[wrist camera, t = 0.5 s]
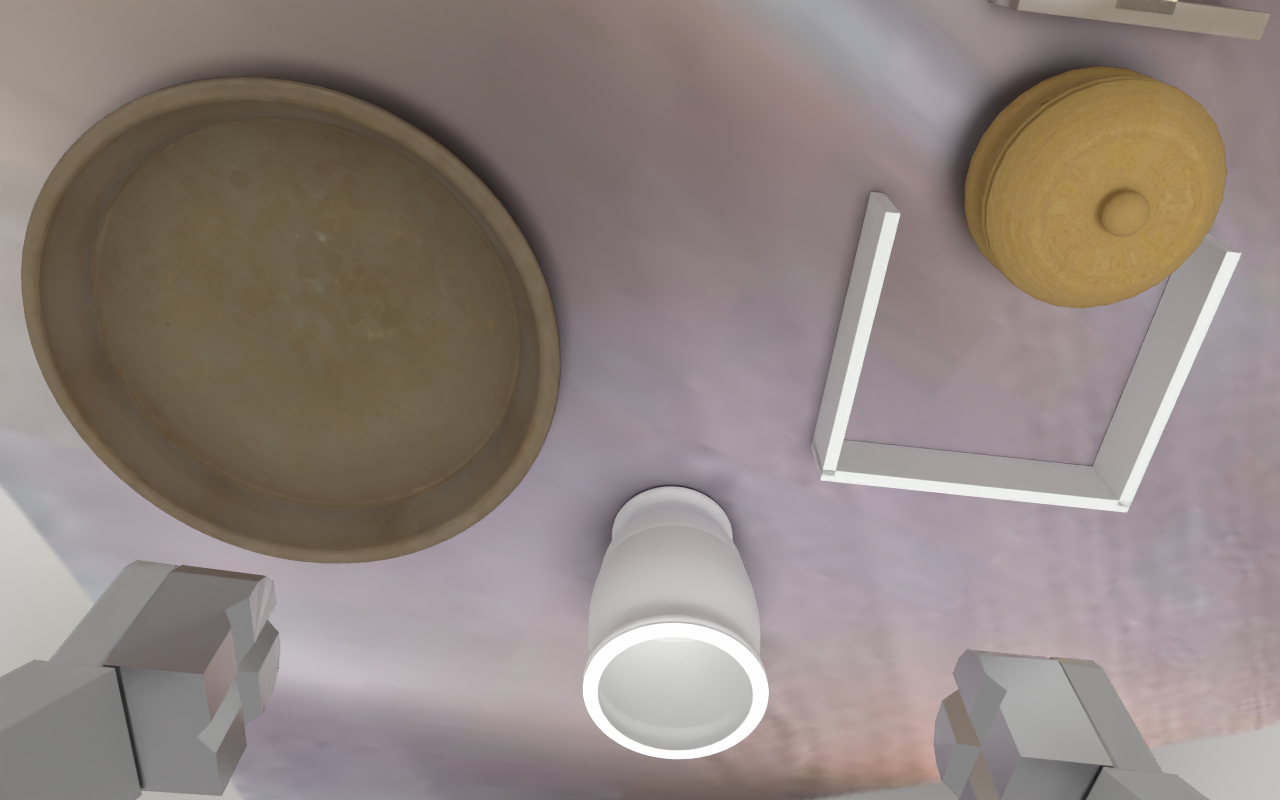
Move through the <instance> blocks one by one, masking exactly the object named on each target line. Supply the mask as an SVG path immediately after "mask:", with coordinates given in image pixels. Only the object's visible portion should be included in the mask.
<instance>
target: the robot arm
mask: <svg viewBox="0 0 1280 800" xmlns="http://www.w3.org/2000/svg"><path fill="white" fill-rule="evenodd" d="M275 604H276V599H275V591H274V584H273V580H271V579H270V578H269V577H267V576H263V575H255V574H247V573H239V572H232V571H224V570H216V569H208V568H201V567H193V566H185V565H181V566H177V565H170V564H162V563H155V562H147V561H140V560H137V561H135V562H133V563H131V564H129V565H127V566H126V567H125V568H123V570H122V571H121V572H120V573H119V575H118V576H117V577H116V578H115V580H114V581H113V582H112V583H111V584H110V586H109V587H108V588H107V589H106V591H105V592H104V593H103V594H102V596H101V597H100V598H99V599H98V601H97V602H96V603H95V604H94V605H93V607H92V608H91V609H90V610H89V612H88V613H87V614H86V615H85V617H84V618H83V619H82V620H81V621H80V623H79V624H78V625H77V627H76V628H75V629H74V630H73V631H72V633H71V634H70V635H69V636H68V638H67V639H66V640H65V641H64V643H63V644H62V645H61V646H60V647H59V649H58V650H57V651H56V652H55V654H54V655H53V656H52V657H51V659H50V660H49V661H41V660H33V661H31V662H29V663H27V664H26V665H23V666H21V667H20V668H17V669H15V670H13V671H11V672H9V673H7V674H5V675H3V676H1V677H0V800H136V799H137V798H139V797H140V796H141V791H156V792H171V793H187V794H201V795H215V796H216V795H217V796H222V794H223V792H224V790H225V788H226V786H227V784H228V782H229V780H230V778H231V776H232V774H233V772H234V770H235V768H236V766H237V764H238V762H239V760H240V758H241V756H242V754H243V752H244V750H245V748H246V746H247V745H246V736H245V727H244V726H245V725H246V724H248V723H249V722H251V721H252V720H254V719H255V718H257V717H258V716H260V715H261V714H262V713H263V711H264V709H265V707H266V705H267V703H268V701H269V698H270V696H271V694H272V691H273V687H274V684H275V680H276V676H277V672H278V669H279V657H280V640H279V632H278V631H277V630H276V629H275V628H274V626H273V625H272V624H271V623H270V622H269V621H268V620H267V619H268V617H269V615H270V614H271V612H272V610H273V608H274V606H275ZM953 675H954V678H955V681H956V683H957V686H958V690H957V691H955V692H954V693H952V694H951V695H950V696H948V697H947V698H945V699H944V700H942V703H941V706H940V709H939V712H938V715H937V718H936V721H935V734H934V749H935V756H936V763H937V766H938V770H939V773H940V776H941V780H942V782H943V783H944V784H945V785H946V786H947V787H948V788H949V789H950V790H952V792H953V793H954V794H955V795H956V796H957V797H958V798H959V800H1209V799H1207V798H1206V797H1205V796H1204V795H1202V794H1201V793H1200V792H1198V791H1197V790H1196V789H1194V788H1193V787H1192V786H1191V785H1189V784H1188V783H1187V782H1185V781H1184V780H1183V779H1181V778H1180V777H1179V776H1178V775H1175V774H1166V773H1163V772H1162V770H1161V768H1160V767H1159V765H1158V763H1157V762H1156V760H1155V758H1154V756H1153V754H1152V753H1151V751H1150V749H1149V747H1148V746H1147V744H1146V742H1145V741H1144V739H1143V737H1142V735H1141V734H1140V732H1139V730H1138V729H1137V727H1136V725H1135V723H1134V722H1133V720H1132V718H1131V717H1130V715H1129V713H1128V711H1127V710H1126V708H1125V706H1124V704H1123V703H1122V701H1121V699H1120V698H1119V696H1118V694H1117V692H1116V691H1115V689H1114V687H1113V686H1112V684H1111V682H1110V680H1109V679H1108V677H1107V675H1106V674H1105V672H1104V670H1103V669H1102V667H1100V666H1099V665H1098V664H1097V663H1095V662H1094V661H1092V660H1081V659H1070V658H1058V657H1050V658H1047V657H1041V656H1030V655H1020V654H1010V653H999V652H989V651H979V650H968V649H967V650H966V651H965V652H964V653H963V654H962V655H961V656H960V657H959V659H958V662H957V664H956V667H955V669H954V672H953Z"/></svg>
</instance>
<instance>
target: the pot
mask: <svg viewBox="0 0 1280 800" xmlns="http://www.w3.org/2000/svg"><path fill="white" fill-rule="evenodd" d="M1226 174H1227V168H1226V157H1225V147H1224V144H1223V141H1222V139H1221V136H1220V133H1219V131H1218V128H1217V125H1216V123H1215V122H1214V121H1213V119H1212V118H1211V117H1210V115H1209V114H1208V113H1207V111H1206V110H1205V109H1204V107H1203V106H1202V105H1201V104H1200V103H1199V102H1197V101H1196V100H1194V99H1193V98H1192V97H1190V96H1189V95H1187V94H1186V93H1185V92H1183V91H1182V90H1179V89H1178V88H1176V87H1174V86H1171V85H1168V84H1166V83H1163V82H1160V81H1157V80H1154V79H1153V78H1152V77H1149V76H1146V75H1143V74H1141V73H1138V72H1135V71H1132V70H1129V69H1126V68H1117V67H1106V66H1095V67H1088V68H1081V69H1074V70H1070V71H1067V72H1064V73H1062V74H1059V75H1056V76H1054V77H1051V78H1048V79H1045V80H1043V81H1042V82H1040V83H1038V84H1037V85H1035V86H1033V87H1032V88H1030V89H1029V90H1027V91H1025V92H1024V93H1022V94H1021V95H1019V96H1018V97H1017V98H1016V99H1015V100H1014V101H1013V102H1011V103H1010V104H1009V105H1008V106H1007V107H1006V108H1005V109H1004V110H1003V111H1001V112H1000V113H999V114H998V116H997V117H996V118H995V120H994V121H993V122H992V124H991V125H990V126H989V128H988V129H987V130H986V131H985V133H984V134H983V135H982V137H981V140H980V142H979V144H978V146H977V148H976V150H975V152H974V154H973V156H972V158H971V161H970V165H969V169H968V174H967V178H966V182H965V205H964V207H965V213H966V218H967V222H968V227H969V231H970V233H971V235H972V237H973V239H974V241H975V243H976V245H977V246H978V248H979V250H980V252H981V253H982V254H983V255H984V256H985V257H986V258H987V259H988V260H989V261H990V262H991V263H992V264H993V265H994V267H995V268H997V269H998V270H1000V271H1001V272H1002V273H1003V275H1004V276H1005V277H1006V278H1007V279H1008V280H1009V281H1010V282H1011V283H1012V284H1014V285H1015V286H1016V287H1017V288H1019V289H1021V290H1022V291H1024V292H1025V293H1027V294H1028V295H1030V296H1032V297H1033V298H1035V299H1037V300H1040V301H1043V302H1046V303H1049V304H1052V305H1055V306H1061V307H1074V308H1087V307H1095V306H1103V305H1109V304H1112V303H1115V302H1118V301H1122V300H1125V299H1128V298H1131V297H1134V296H1136V295H1138V294H1140V293H1142V292H1144V291H1146V290H1148V289H1149V288H1151V287H1153V286H1155V285H1157V284H1159V283H1160V282H1161V281H1163V280H1164V279H1165V278H1167V277H1168V276H1169V275H1170V274H1172V273H1173V272H1174V271H1176V270H1177V269H1178V268H1179V267H1180V266H1181V265H1182V264H1183V263H1184V262H1185V261H1186V260H1187V259H1188V258H1189V257H1190V256H1191V254H1192V253H1193V252H1194V251H1195V250H1196V249H1197V248H1198V247H1199V245H1200V244H1201V242H1202V240H1203V239H1204V237H1205V236H1206V234H1207V233H1208V231H1209V230H1210V228H1211V226H1212V225H1213V223H1214V220H1215V218H1216V215H1217V213H1218V210H1219V207H1220V205H1221V202H1222V200H1223V194H1224V188H1225V181H1226Z"/></svg>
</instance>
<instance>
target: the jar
mask: <svg viewBox="0 0 1280 800" xmlns="http://www.w3.org/2000/svg"><path fill="white" fill-rule="evenodd" d="M588 644H589V654H590V656H589V658H588V660H587V663H586V665H585V669H584V674H583V696H584V701H585V705H586V708H587V710H588V712H589V714H590V716H591V718H592V719H593V721H594V722H595V723H596V725H597V726H598V727H599V728H600V729H601V730H602V731H603V732H604V733H605V734H606V735H607V736H609V737H610V738H611V739H613V740H614V741H616V742H617V743H619V744H621V745H622V746H624V747H626V748H629V749H631V750H633V751H636V752H639V753H642V754H645V755H649V756H653V757H659V758H667V759H690V758H698V757H703V756H708V755H711V754H715V753H718V752H720V751H723V750H725V749H727V748H730V747H731V746H733V745H735V744H737V743H738V742H740V741H741V740H743V739H744V738H745V737H746V736H748V735H749V734H750V733H751V732H752V731H753V730H754V729H755V727H756V726H757V725H758V723H759V722H760V720H761V719H762V717H763V715H764V713H765V710H766V707H767V703H768V695H769V690H768V683H767V676H766V672H765V668H764V665H763V663H762V661H761V659H760V657H759V656H760V621H759V613H758V607H757V602H756V598H755V595H754V591H753V588H752V585H751V582H750V580H749V577H748V575H747V572H746V570H745V568H744V564H743V562H742V559H741V556H740V554H739V552H738V550H737V548H736V546H735V544H734V543H733V534H732V528H731V524H730V522H729V519H728V517H727V516H726V514H725V512H724V511H723V510H722V508H721V507H720V506H719V505H718V504H717V503H716V502H714V501H713V500H712V499H710V498H709V497H707V496H706V495H704V494H702V493H700V492H697V491H695V490H692V489H688V488H683V487H673V486H668V487H658V488H654V489H650V490H647V491H645V492H642V493H640V494H638V495H636V496H635V497H633V498H632V499H631V500H629V501H628V502H627V503H626V504H625V505H624V506H623V507H622V508H621V510H620V511H619V513H618V514H617V516H616V518H615V521H614V524H613V529H612V541H611V543H610V545H609V547H608V549H607V551H606V554H605V556H604V559H603V562H602V566H601V570H600V572H599V574H598V577H597V579H596V582H595V585H594V589H593V592H592V597H591V602H590V608H589V617H588Z"/></svg>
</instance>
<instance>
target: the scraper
mask: <svg viewBox="0 0 1280 800" xmlns="http://www.w3.org/2000/svg"><path fill="white" fill-rule="evenodd" d="M989 2H991V3H994V4H998V5H1001V6H1005V7H1008V8H1012V9H1015V10H1021V11H1029V12H1037V13H1045V14H1053V15H1061V16H1069V17H1077V18H1085V19H1093V20H1101V21H1109V22H1117V23H1125V24H1133V25H1141V26H1149V27H1157V28H1165V29H1173V30H1181V31H1189V32H1197V33H1205V34H1213V35H1221V36H1229V37H1237V38H1245V39H1253V40H1260V39H1261V36H1262V34H1263V31H1264V29H1265V27H1266V24H1267V22H1268V19H1269V17H1270V13H1264V12H1258V11H1252V10H1247V9H1241V8H1235V7H1229V6H1224V5H1216V4H1208V3H1200V2H1192V1H1184V0H989Z"/></svg>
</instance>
